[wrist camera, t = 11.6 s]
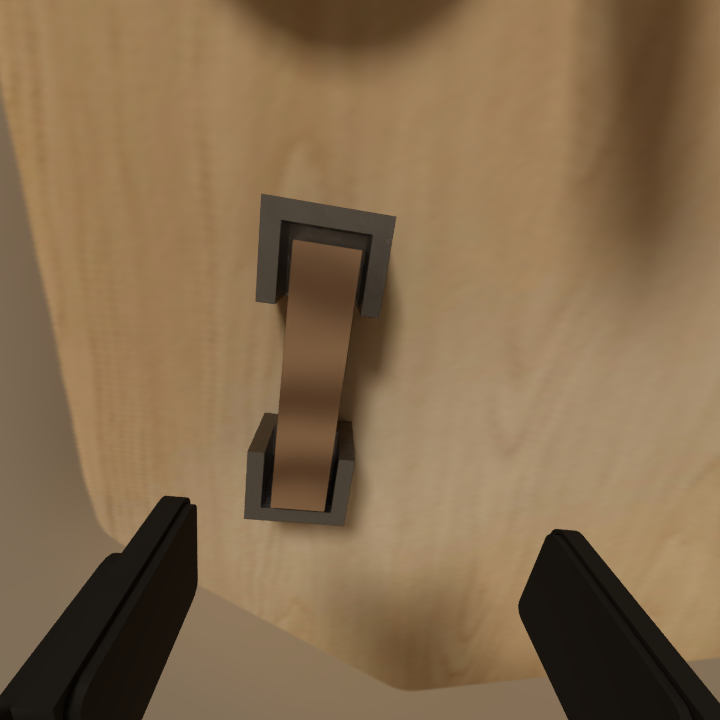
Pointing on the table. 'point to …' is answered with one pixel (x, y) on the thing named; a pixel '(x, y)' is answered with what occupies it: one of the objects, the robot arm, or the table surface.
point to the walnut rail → (313, 371)
